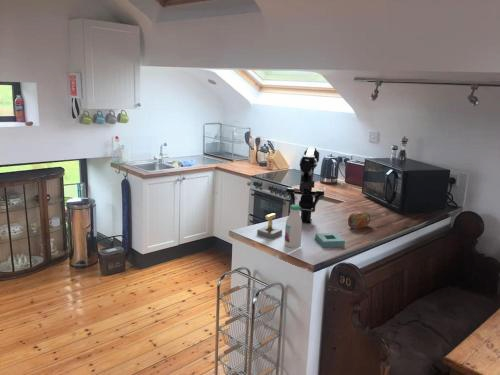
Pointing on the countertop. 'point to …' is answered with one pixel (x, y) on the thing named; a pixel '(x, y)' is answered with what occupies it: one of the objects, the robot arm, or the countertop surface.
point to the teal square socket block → (329, 240)
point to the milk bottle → (293, 228)
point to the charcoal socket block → (268, 234)
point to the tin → (359, 220)
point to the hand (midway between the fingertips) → (303, 209)
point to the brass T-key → (270, 221)
